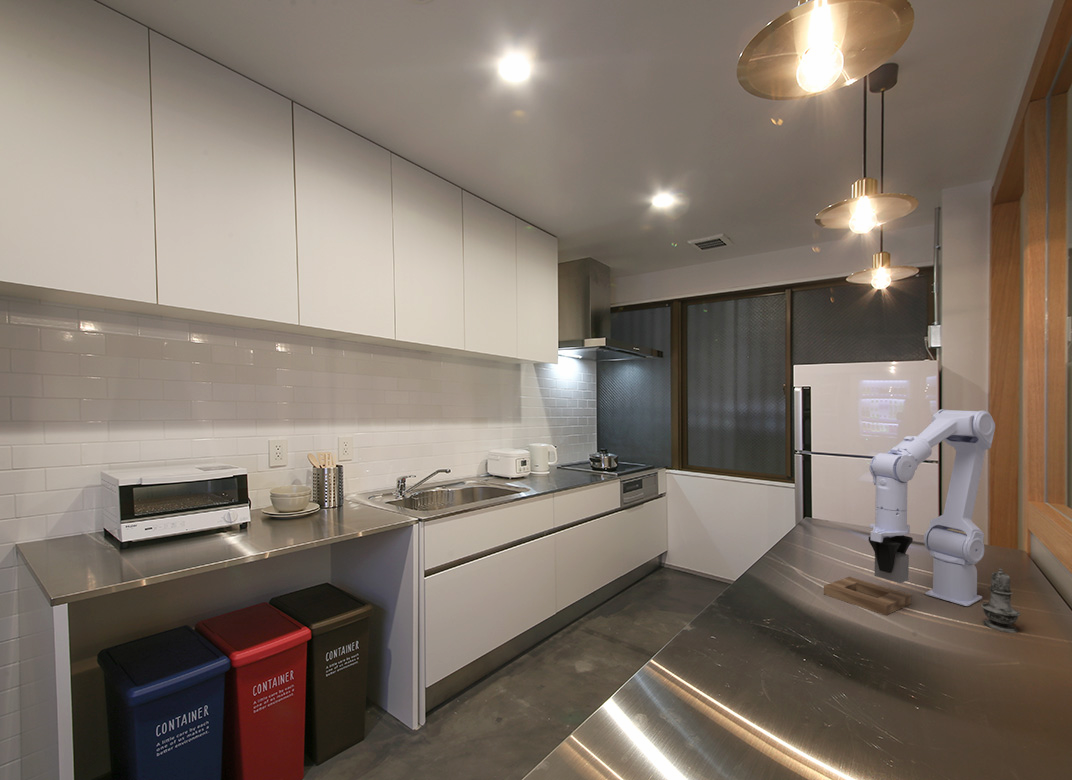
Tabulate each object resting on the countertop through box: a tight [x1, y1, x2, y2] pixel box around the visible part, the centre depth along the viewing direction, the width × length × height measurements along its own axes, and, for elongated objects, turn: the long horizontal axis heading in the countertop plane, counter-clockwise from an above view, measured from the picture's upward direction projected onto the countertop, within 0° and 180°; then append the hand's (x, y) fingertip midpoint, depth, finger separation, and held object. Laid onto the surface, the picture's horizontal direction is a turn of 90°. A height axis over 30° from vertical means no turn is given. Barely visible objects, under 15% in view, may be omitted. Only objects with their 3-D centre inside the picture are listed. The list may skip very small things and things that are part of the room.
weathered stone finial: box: [980, 567, 1021, 634], centre depth 102 cm, size 6×6×12 cm
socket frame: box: [823, 576, 912, 616], centre depth 115 cm, size 12×13×2 cm
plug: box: [873, 552, 910, 584], centre depth 110 cm, size 4×5×6 cm
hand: (890, 569), depth 110 cm, fingers closed on plug, 4 cm apart
